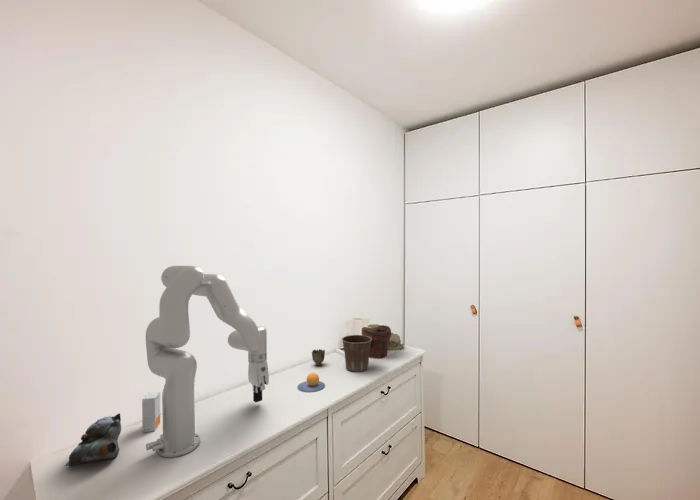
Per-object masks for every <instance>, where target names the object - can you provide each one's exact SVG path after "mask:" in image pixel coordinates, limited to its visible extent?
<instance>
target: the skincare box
mask: <svg viewBox="0 0 700 500" xmlns="http://www.w3.org/2000/svg"><path fill="white" fill-rule="evenodd" d="M141 400H142V401H141V402H142V406H141V408H142V413H141V415H142V416H141V418H142V420H141V421H142V424H141V425H142V433H149V432H155V431H156V430H157V429H158V427H159V426H160V424H161V391H153V392H148V393H147V394H146V395H144V397H143V398H142V399H141Z"/></svg>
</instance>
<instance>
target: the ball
mask: <svg viewBox="0 0 700 500" xmlns="http://www.w3.org/2000/svg"><path fill="white" fill-rule="evenodd" d="M306 381H307V383H308V384H309V385H310V386H315V385H317V384H318V382H319V381H320V376H319V374H317V373H316V372H315V371H314V372H310V373H308V375H307V376H306Z"/></svg>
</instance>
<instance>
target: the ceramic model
mask: <svg viewBox="0 0 700 500" xmlns="http://www.w3.org/2000/svg"><path fill="white" fill-rule="evenodd" d="M401 342H402V340H401V337H400V335H399V334H397V333H394V332H391V337H390V341H389V346H388V351H403V350H404V343H401Z"/></svg>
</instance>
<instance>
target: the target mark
mask: <svg viewBox="0 0 700 500" xmlns="http://www.w3.org/2000/svg"><path fill="white" fill-rule="evenodd" d="M296 387H297V390H298V391H300V392H303V393H315V392H320V391H322V390H323V389H325V387H326V383H324V382H323V381H320V380H319V382H318V384H317V385H315V386H310V385H309V384H308V383H307V380H305V381H303V382H301V383H299V384H298V385H297V386H296Z"/></svg>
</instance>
